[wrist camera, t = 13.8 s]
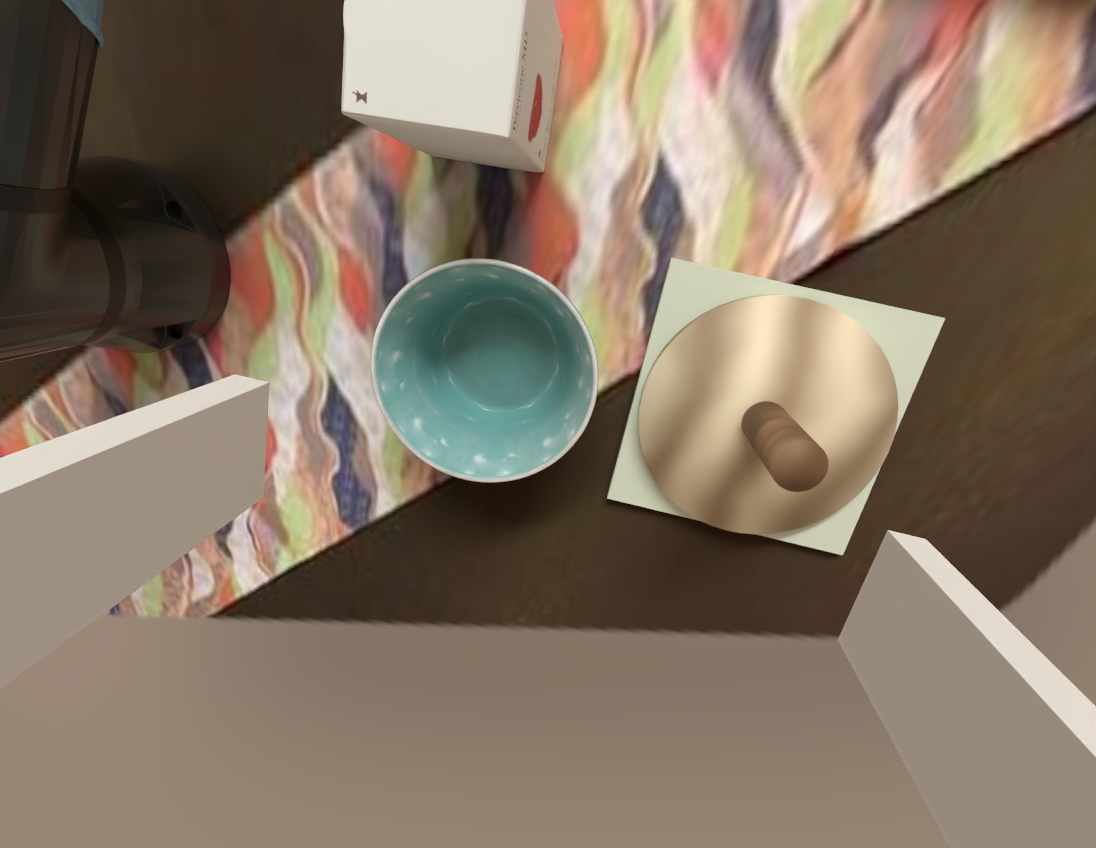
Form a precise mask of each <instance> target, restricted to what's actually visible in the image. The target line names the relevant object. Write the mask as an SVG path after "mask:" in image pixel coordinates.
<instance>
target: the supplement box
mask: <svg viewBox="0 0 1096 848" xmlns="http://www.w3.org/2000/svg"><path fill="white" fill-rule="evenodd" d="M343 20H344V59H343V80H342V113H343V114H344V115H346V116H348V117H350V118H353V119H355V120H357V121H359V122H361V123H363V124H366V125H368V126H370V127H372V128H374V129H376V130H378V131H380V132H382V133H385V134H387V135H389V136H391V137H393V138H395V139H397V140H399V141H401V142H403V143H405V144H408V145H410V146H412V147H414V148H416V149H418V150H420V151H422V152H425V153H426V154H428V155H431V156H434V157H440V158H446V159H453V160H459V161H465V162H471V163H477V164H483V165H489V166H495V167H501V168H508V169H514V170H521V171H529V172H539V173H540V172H544V170H545V164H546V157H547V151H548V144H549V137H550V131H551V124H552V117H553V110H554V103H555V96H556V89H557V82H558V75H559V68H560V61H561V54H562V46H563V37H562V33H561V30H560V26H559V22H558V18H557V15H556V11H555V7H554V4H553V0H345V1H344V12H343Z"/></svg>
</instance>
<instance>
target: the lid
mask: <svg viewBox="0 0 1096 848" xmlns="http://www.w3.org/2000/svg"><path fill="white" fill-rule="evenodd" d="M897 418H898V395H897V387H896V383H895V379H894V374H893V372H892V369H891V367H890V364H889V362H888V359H887V358H886V356H885V354H884V353H883V351H882V349H881V347H880V346H879V345H878V343H877V342H876V341H875V340H874V338H873V337H872V336H871V335H870V333H869V332H867V331H866V330H865V329H864V328H863V327H862V326H861V325H860V324H859V323H858V322H856V321H855V320H853V319H852V318H850V317H849V316H847V315H846V314H844V313H843V312H841V311H839V310H837V309H834V308H832V307H830V306H828V305H826V304H822V303H819V302H816V301H813V300H810V299H807V298H802V297H796V296H790V295H772V294H770V295H759V296H751V297H746V298H741V299H737V300H734V301H731V302H728V303H725V304H722V305H719V306H717V307H715V308H713V309H711V310H709V311H707V312H705V313H703V314H702V315H700V316H699V317H697V318H696V319H694V320H693V321H691V322H690V323H688V324H687V325H686V326H685V327H684V328H682V329H681V330H680V331H679V332H678V333H677V334H676V335H675V336H674V337H673V338H672V339H671V340H670V341H669V342H668V343H667V344H666V346H665V347H664V348H663V350H662V351H661V352H660V354H659V355H658V357H657V358H656V360H655V361H654V363H653V365H652V367H651V369H650V371H649V373H648V375H647V378H646V381H645V383H644V386H643V389H642V394H641V398H640V403H639V414H638V424H639V438H640V443H641V448H642V453H643V455H644V458H645V461H646V464H647V467H648V468H649V470H650V472H651V474H652V476H653V478H654V480H655V481H656V483H657V484H658V485H659V487H660V488H661V490H662V491H663V492H664V493H665V494H666V495H667V496H668V497H669V499H670V500H671V501H672V502H673V503H675V504H676V505H677V506H678V507H680V508H681V509H682V510H683V511H685V512H686V513H688V514H689V515H691V516H693V517H694V518H696V519H698V520H700V521H702V522H704V523H706V524H708V525H711V526H714V527H717V528H720V529H723V530H727V531H732V532H737V533H746V534H773V533H780V532H787V531H791V530H795V529H798V528H802V527H805V526H808V525H810V524H813V523H815V522H818V521H820V520H822V519H824V518H826V517H828V516H830V515H832V514H834V513H835V512H836V511H838V510H839V509H841V508H842V507H844V506H845V505H847V504H848V503H849V502H850V501H852V500H853V499H854V498H855V497H856V496H857V495H858V494H860V493H861V491H862V490H863V489H864V488H865V487H866V486H867V485H868V484H869V483H870V482H871V480H872V479H873V477H874V476H875V475H876V473H877V472H878V470H879V469H880V467H881V466H882V464H883V462H884V460H885V458H886V456H887V454H888V452H889V449H890V447H891V444H892V441H893V439H894V434H895V430H896V425H897Z"/></svg>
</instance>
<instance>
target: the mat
mask: <svg viewBox="0 0 1096 848" xmlns="http://www.w3.org/2000/svg"><path fill="white" fill-rule="evenodd" d="M770 294H772V295H790V296H796V297H802V298H807V299H810V300H813V301H816V302H819V303H822V304H826V305H828V306H830V307H832V308H834V309H837V310H839V311H841V312H843V313H844V314H846V315H847V316H849V317H850V318H852V319H853V320H855V321H856V322H858V323H859V324H860V325H861V326H862V327H863V328H864V329H865V330H866V331H867V332H869V333H870V335H871V336H872V337H873V338H874V340H875V341H876V342H877V343H878V345H879V346H880V347H881V349H882V351H883V353H884V354H885V356H886V358H887V359H888V362H889V364H890V367H891V369H892V372H893V374H894V379H895V383H896V387H897V395H898V418H897V425H896V430H895V433H896V431H897V429H898V426H899V424H900V422H901V419H902V417H903V415H904V412H905V410H906V408H907V405H908V403H909V401H910V398H911V396H912V394H913V392H914V389H915V387H916V385H917V382H918V380H919V378H920V375H921V373H922V371H923V368H924V366H925V364H926V361H927V359H928V357H929V355H930V352H931V350H932V348H933V345H934V343H935V341H936V338H937V336H938V334H939V331H940V329H941V327H942V325H943V322H944V320H945V318H942V317H937V316H933V315H928V314H924V313H919V312H915V311H910V310H906V309H901V308H896V307H892V306H887V305H883V304H878V303H874V302H869V301H865V300H860V299H856V298H851V297H847V296H842V295H838V294H833V293H828V292H824V291H819V290H815V289H810V288H806V287H801V286H797V285H792V284H788V283H783V282H779V281H774V280H770V279H765V278H760V277H756V276H751V275H747V274H742V273H738V272H733V271H729V270H724V269H720V268H715V267H711V266H706V265H702V264H697V263H692V262H688V261H683V260H679V259H674V258H671V259H670V262H669V266H668V270H667V273H666V277H665V281H664V285H663V288H662V292H661V296H660V300H659V303H658V307H657V311H656V315H655V318H654V322H653V326H652V330H651V333H650V337H649V341H648V345H647V348H646V352H645V356H644V360H643V363H642V367H641V371H640V375H639V378H638V382H637V386H636V389H635V393H634V397H633V401H632V404H631V408H630V412H629V416H628V419H627V423H626V427H625V431H624V434H623V438H622V442H621V446H620V449H619V453H618V457H617V461H616V464H615V468H614V472H613V476H612V479H611V483H610V487H609V491H608V494H607V499H612V500H616V501H620V502H624V503H628V504H632V505H636V506H641V507H645V508H649V509H653V510H657V511H661V512H665V513H670V514H674V515H678V516H682V517H686V518H690V519H694V520H698V519H696V518H694V517H693V516H691V515H689V514H688V513H686V512H685V511H683V510H682V509H681V508H680V507H678V506H677V505H676V504H675V503H673V502H672V501H671V500H670V499H669V497H668V496H667V495H666V494H665V493H664V492H663V491H662V490H661V488H660V487H659V485H658V484H657V483H656V481H655V480H654V478H653V476H652V474H651V472H650V470H649V468H648V467H647V464H646V461H645V458H644V455H643V453H642V448H641V443H640V438H639V424H638V414H639V403H640V398H641V394H642V389H643V386H644V383H645V381H646V378H647V375H648V373H649V371H650V369H651V367H652V365H653V363H654V361H655V360H656V358H657V357H658V355H659V354H660V352H661V351H662V350H663V348H664V347H665V346H666V344H667V343H668V342H669V341H670V340H671V339H672V338H673V337H674V336H675V335H676V334H677V333H678V332H679V331H680V330H681V329H682V328H684V327H685V326H686V325H687V324H688V323H690V322H691V321H693V320H694V319H696V318H697V317H699V316H700V315H702V314H703V313H705V312H707V311H709V310H711V309H713V308H715V307H717V306H719V305H722V304H725V303H728V302H731V301H734V300H737V299H741V298H746V297H751V296H759V295H770ZM894 435H895V434H894ZM880 468H881V467H880ZM879 470H880V469H879ZM879 470H878V472H879ZM878 472H877V473H876V475H875V476H874V477H873V479H872V480H871V482H870V483H869V484H868V485H867V486H866V487H865V488H864V489H863V490H862V491H861V493H860V494H858V495H857V496H856V497H855V498H854V499H853V500H852V501H850V502H849V503H848V504H847V505H845V506H844V507H842V508H841V509H839V510H838V511H836V512H835V513H834V514H832V515H830V516H828V517H826V518H824V519H822V520H820V521H818V522H815V523H813V524H810V525H808V526H805V527H802V528H798V529H795V530H791V531H787V532H780V533H773V534H756V535H761V536H765V537H769V538H773V539H777V540H781V541H785V542H790V543H794V544H798V545H802V546H806V547H810V548H814V549H818V550H823V551H827V552H831V553H835V554H839V555H843V553H844V551H845V549H846V546H847V544H848V542H849V539H850V537H851V535H852V533H853V530H854V528H855V526H856V523H857V521H858V519H859V516H860V514H861V512H862V509H863V507H864V505H865V502H866V500H867V498H868V496H869V493H870V491H871V489H872V486H873V484H874V482H875V479H876V477H877V475H878ZM698 521H700V520H698Z"/></svg>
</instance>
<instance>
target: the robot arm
mask: <svg viewBox="0 0 1096 848" xmlns="http://www.w3.org/2000/svg"><path fill="white" fill-rule="evenodd" d="M103 7H104V0H0V362H3V361H8V360H13V359H17V358H22V357H27V356H31V355H36V354H41V353H46V352H50V351H55V350H60V349H64V348H69V347H74V346H79V345H88V346H95V347H102V348H109V349H116V350H122V351H129V352H137V353H153V352H161V351H166V350H170V349H174V348H178V347H182V346H185V345H188V344H190V343H193V342H194V341H196V340H198V339H200V338H201V337H202V336H204V335H205V334H206V333H207V332H208V331H209V330H210V329H211V328H212V327H213V326H214V325H215V323H216V322H217V320H218V319H219V317H220V315H221V313H222V311H223V309H224V306H225V304H226V300H227V296H228V292H229V283H230V269H229V260H228V254H227V250H226V246H225V243H224V240H223V237H222V234H221V232H220V229H219V227H218V225H217V223H216V221H215V219H214V218H213V216H212V214H211V213H210V211H209V210H208V208H207V207H206V205H205V204H204V203H203V201H202V200H201V199H200V198H199V197H198V195H197V194H196V193H195V192H194V191H193V190H192V189H191V188H190V187H189V186H188V185H186V184H185V183H184V182H183V181H182V180H180V179H179V178H178V177H176V176H175V175H173V174H172V173H170V172H168V171H166V170H165V169H163V168H161V167H158V166H156V165H153V164H151V163H148V162H144V161H140V160H134V159H127V158H121V157H114V156H94V157H87V158H82V159H79V160H78V158H79V152H80V147H81V141H82V135H83V130H84V124H85V119H86V113H87V107H88V102H89V96H90V90H91V85H92V79H93V73H94V68H95V62H96V57H97V51H98V48H101V49H102V48H103V44H104V36H103V34H102V32H101V23H102V15H103ZM268 398H269V382H265V381H261V380H257V379H253V378H248V377H244V376H240V375H236V374H235V375H232V376H229V377H226V378H223V379H221V380H218V381H215V382H212V383H209V384H206V385H204V386H201V387H198V388H195V389H192V390H190V391H187V392H184V393H181V394H178V395H175V396H173V397H170V398H167V399H164V400H161V401H159V402H156V403H153V404H150V405H147V406H145V407H142V408H139V409H136V410H133V411H130V412H128V413H125V414H122V415H119V416H116V417H114V418H111V419H108V420H105V421H102V422H99V423H97V424H94V425H91V426H88V427H85V428H83V429H80V430H77V431H74V432H71V433H69V434H66V435H63V436H60V437H57V438H54V439H52V440H49V441H46V442H43V443H40V444H38V445H35V446H32V447H29V448H26V449H23V450H21V451H18V452H15V453H12V454H9V455H7V456H2V457H0V689H1V688H3V687H4V686H5V685H7V684H8V683H9V682H11V681H12V680H13V679H15V678H16V677H17V676H19V675H20V674H22V673H23V672H24V671H25V670H27V669H29V668H30V667H31V666H33V665H34V664H35V663H37V662H38V661H40V660H41V659H42V658H44V657H45V656H46V655H48V654H49V653H51V652H52V651H53V650H55V649H56V648H57V647H59V646H60V645H61V644H63V643H64V642H65V641H67V640H68V639H70V638H71V637H72V636H74V635H75V634H77V633H78V632H79V631H81V630H82V629H83V628H85V627H86V626H88V625H89V624H90V623H92V622H93V621H94V620H96V619H97V618H99V617H100V616H101V615H103V614H104V613H105V612H107V611H108V610H110V609H111V608H112V607H114V606H115V605H116V604H118V603H119V602H121V601H122V600H123V599H125V598H126V597H127V596H129V595H130V594H132V593H133V592H134V591H136V590H137V589H138V588H140V587H141V586H142V585H144V584H145V583H147V582H148V581H149V580H151V579H152V578H153V577H155V576H156V575H158V574H159V573H160V572H162V571H163V570H164V569H166V568H167V567H169V566H170V565H171V564H173V563H174V562H175V561H177V560H178V559H180V558H181V557H182V556H184V555H185V554H186V553H188V552H189V551H191V550H192V549H193V548H195V547H196V546H197V545H199V544H200V543H202V542H203V541H204V540H206V539H207V538H208V537H210V536H211V535H212V534H214V533H215V532H217V531H218V530H219V529H221V528H222V527H223V526H225V525H226V524H228V523H229V522H230V521H232V520H233V519H234V518H236V517H237V516H239V515H240V514H241V513H243V512H244V511H245V510H247V509H248V508H250V507H251V506H252V505H254V504H255V503H256V502H258V501H259V500H261V499H262V498H263V497H264V478H265V458H266V438H267V418H268ZM838 641H839V643H840V645H841V647H842V649H843V651H844V652H845V654H846V656H847V658H848V660H849V662H850V664H851V665H852V667H853V669H854V671H855V673H856V675H857V677H858V678H859V680H860V682H861V684H862V686H863V688H864V689H865V691H866V693H867V695H868V697H869V699H870V701H871V702H872V704H873V706H874V708H875V710H876V712H877V713H878V715H879V717H880V719H881V721H882V723H883V725H884V726H885V728H886V730H887V732H888V734H889V735H890V737H891V739H892V741H893V743H894V745H895V747H896V749H897V750H898V752H899V754H900V756H901V758H902V760H903V761H904V763H905V765H906V767H907V769H908V771H909V773H910V774H911V776H912V778H913V780H914V782H915V784H916V785H917V787H918V789H919V791H920V793H921V795H922V796H923V798H924V800H925V802H926V804H927V805H928V808H929V809H930V811H931V813H932V815H933V817H934V819H935V820H936V822H937V824H938V826H939V828H940V830H941V832H942V833H943V835H944V837H945V839H946V841H947V843H948V845H949V846H950V848H1096V706H1095V705H1094V704H1093V703H1091V702H1090V701H1089V700H1088V699H1087V698H1086V697H1085V696H1084V695H1083V694H1082V693H1081V692H1080V691H1079V690H1078V689H1077V688H1076V687H1075V686H1074V685H1073V684H1072V683H1071V682H1070V681H1069V680H1068V679H1067V678H1066V677H1065V676H1064V675H1063V674H1062V673H1061V672H1060V671H1059V670H1058V669H1057V668H1056V667H1055V666H1054V665H1053V664H1052V663H1051V662H1050V661H1049V660H1048V659H1047V658H1046V657H1045V656H1044V655H1043V654H1042V653H1041V652H1040V651H1039V650H1038V649H1036V647H1034V645H1033V644H1032V643H1031V642H1030V641H1028V639H1026V637H1025V636H1023V635H1022V634H1021V633H1020V632H1019V631H1018V630H1017V629H1016V628H1015V627H1014V626H1013V625H1012V624H1011V623H1010V622H1009V621H1008V620H1007V619H1006V618H1005V617H1004V616H1003V615H1002V614H1001V613H1000V612H999V611H998V610H997V609H996V608H995V607H994V606H993V605H992V604H991V603H990V602H989V601H988V600H987V599H986V598H985V597H984V596H983V595H982V594H981V593H980V592H979V591H978V590H977V589H976V588H975V587H974V586H973V585H972V584H971V583H970V582H969V581H968V580H967V579H966V578H965V577H964V576H963V575H962V574H961V573H960V572H959V571H958V570H957V569H956V568H955V567H953V566H952V565H951V564H950V563H949V562H948V561H947V560H946V559H945V558H944V557H943V556H942V555H941V554H940V553H939V552H938V551H937V550H936V549H935V548H934V547H933V546H932V545H931V544H930V543H929V542H928V541H927V540H926V539H923V538H919V537H914V536H910V535H906V534H902V533H898V532H893V531H889V530H888V531H887V533H886V535H885V537H884V539H883V542H882V544H881V546H880V548H879V550H878V553H877V555H876V557H875V559H874V561H873V564H872V566H871V568H870V570H869V572H868V575H867V577H866V579H865V581H864V583H863V586H862V588H861V590H860V592H859V594H858V597H857V599H856V601H855V603H854V605H853V608H852V610H851V612H850V614H849V616H848V619H847V621H846V623H845V625H844V627H843V630H842V632H841V634H840V636H839V638H838Z"/></svg>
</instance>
